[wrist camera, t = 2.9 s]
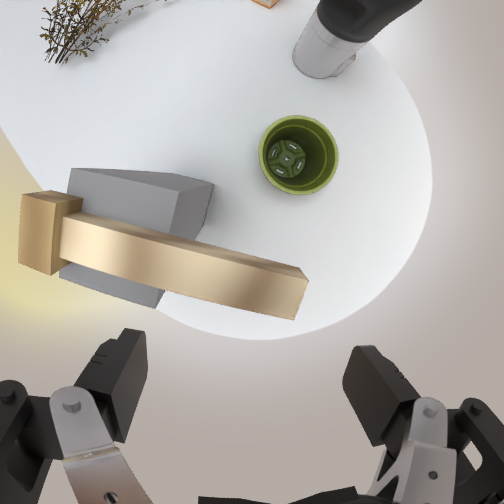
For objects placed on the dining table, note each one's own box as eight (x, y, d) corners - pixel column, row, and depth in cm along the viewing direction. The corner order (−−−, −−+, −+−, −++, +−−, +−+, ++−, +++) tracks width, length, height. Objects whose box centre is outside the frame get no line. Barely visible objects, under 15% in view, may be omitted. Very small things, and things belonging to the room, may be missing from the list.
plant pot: (252, 127, 47) (258, 113, 36) (316, 130, 48) (337, 118, 37) (253, 191, 50) (259, 195, 39) (316, 191, 51) (338, 195, 40)
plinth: (214, 183, 49) (179, 191, 16) (202, 226, 51) (155, 308, 18) (172, 173, 48) (71, 168, 15) (161, 215, 50) (59, 277, 17)
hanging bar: (303, 254, 18) (319, 271, 14) (282, 315, 19) (292, 341, 15) (51, 190, 15) (22, 194, 12) (45, 249, 16) (18, 262, 13)
